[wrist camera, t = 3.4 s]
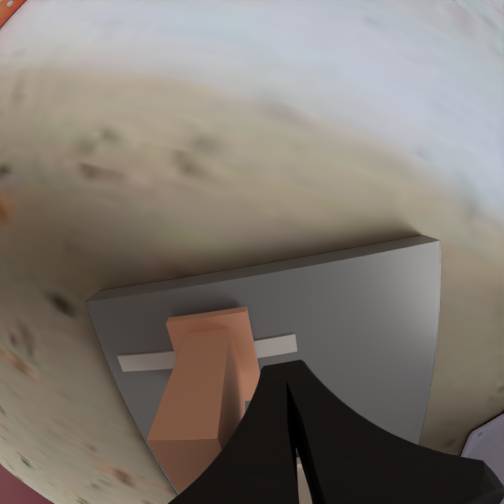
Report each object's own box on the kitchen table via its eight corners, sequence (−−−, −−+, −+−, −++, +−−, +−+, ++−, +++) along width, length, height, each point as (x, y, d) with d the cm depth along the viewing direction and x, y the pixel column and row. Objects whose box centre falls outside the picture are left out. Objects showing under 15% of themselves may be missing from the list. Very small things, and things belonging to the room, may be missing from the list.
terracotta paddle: (246, 306, 11) (246, 418, 5) (263, 391, 12) (273, 509, 6) (168, 317, 11) (110, 423, 5) (194, 399, 12) (170, 512, 6)
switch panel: (422, 234, 13) (441, 240, 11) (388, 507, 18) (393, 519, 16) (100, 290, 13) (84, 302, 11) (219, 535, 18) (218, 549, 16)
